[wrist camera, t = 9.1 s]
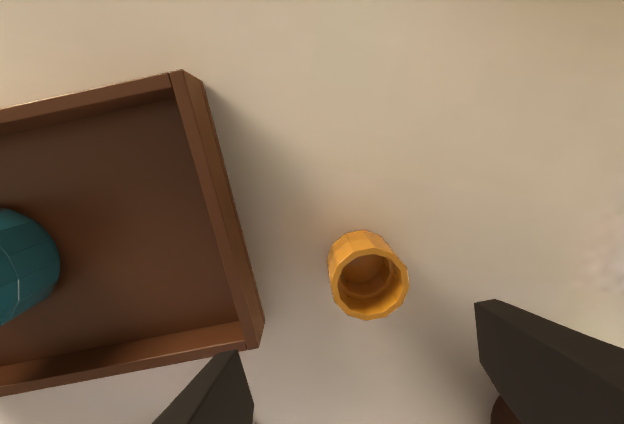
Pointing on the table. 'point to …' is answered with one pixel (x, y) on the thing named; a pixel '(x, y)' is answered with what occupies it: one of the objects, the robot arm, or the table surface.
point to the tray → (125, 234)
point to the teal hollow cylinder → (24, 264)
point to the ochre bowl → (366, 275)
